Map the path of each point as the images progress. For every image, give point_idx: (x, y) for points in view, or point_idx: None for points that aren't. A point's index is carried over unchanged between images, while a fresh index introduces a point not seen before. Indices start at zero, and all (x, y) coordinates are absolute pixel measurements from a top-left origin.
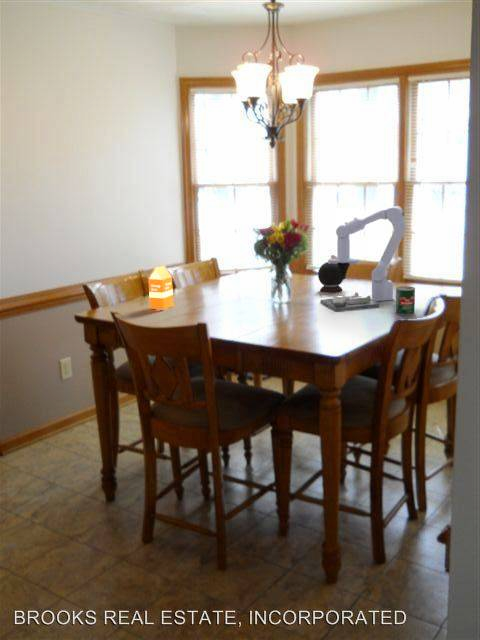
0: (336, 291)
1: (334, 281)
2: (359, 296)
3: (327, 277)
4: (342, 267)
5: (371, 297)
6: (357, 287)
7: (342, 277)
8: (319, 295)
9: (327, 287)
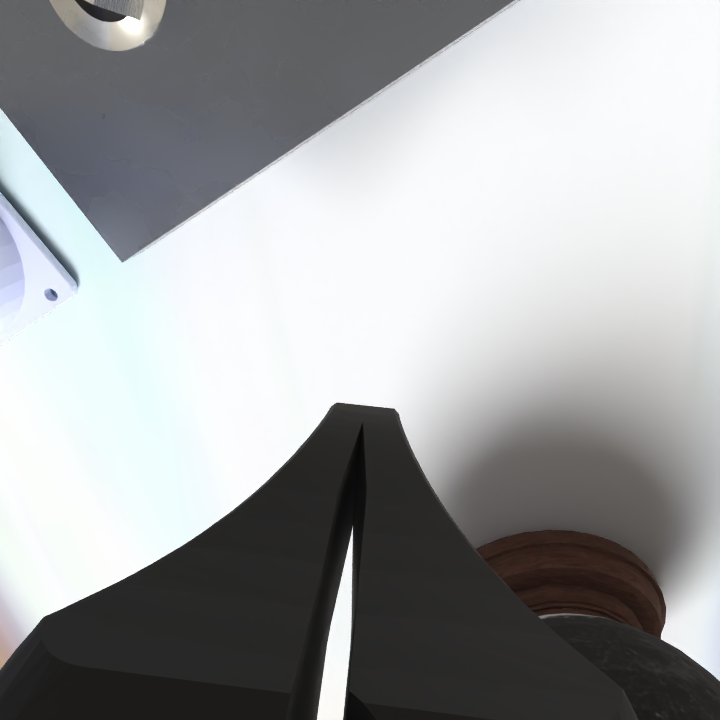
0: (489, 554)
1: None
2: (147, 229)
3: (664, 701)
4: (349, 675)
5: (37, 290)
6: (323, 706)
7: (376, 418)
8: (687, 419)
9: (600, 605)
